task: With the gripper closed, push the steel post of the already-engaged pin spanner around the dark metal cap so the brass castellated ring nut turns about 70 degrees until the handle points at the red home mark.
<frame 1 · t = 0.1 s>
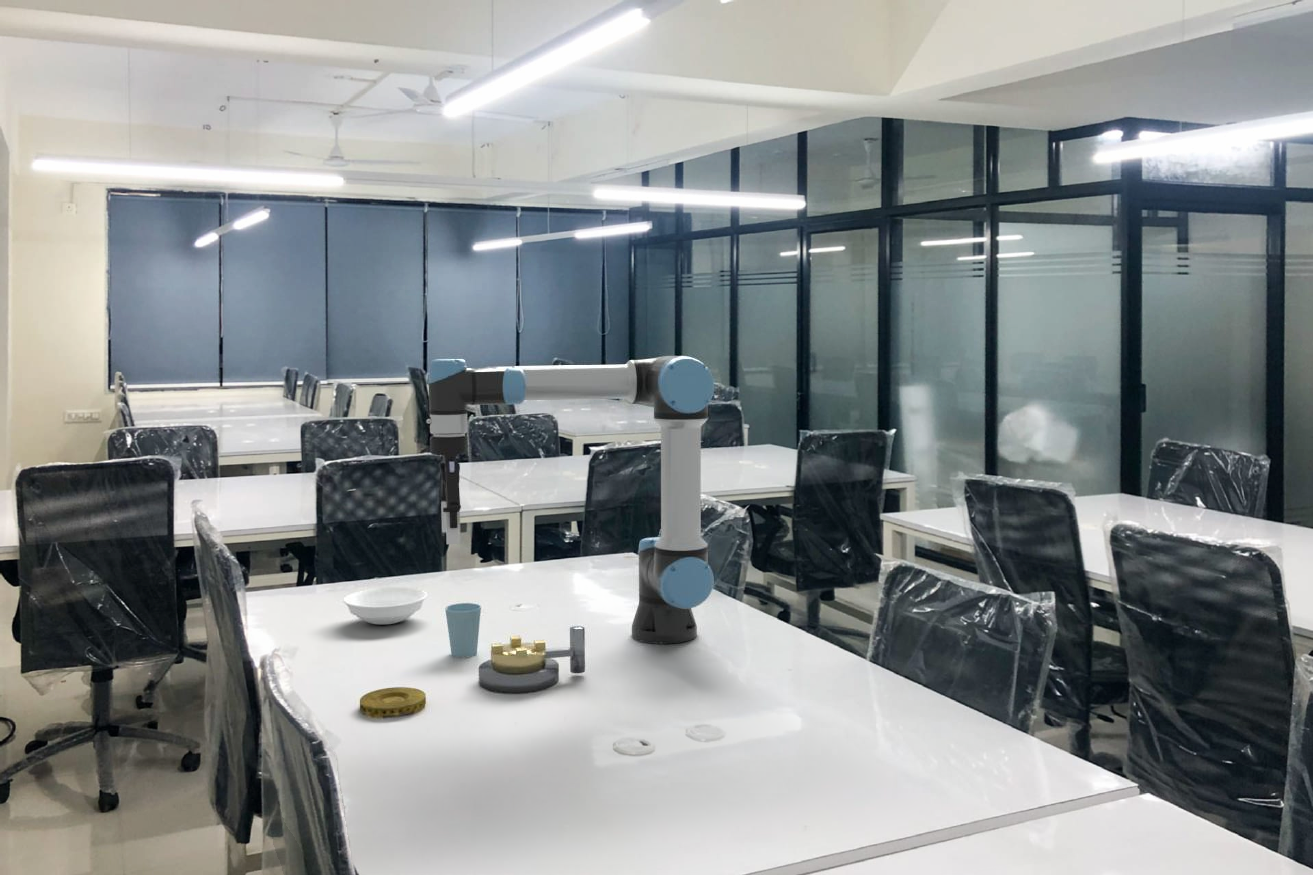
hand: (451, 537, 222), 28 cm above the table, fingers open, 13 cm apart
gold gear disc: (393, 709, 202), on the table
cup: (464, 654, 236), on the table
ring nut: (538, 652, 218), point 5 cm above the table, hinge at 0.0°
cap: (519, 680, 217), on the table
bowl: (386, 622, 263), on the table
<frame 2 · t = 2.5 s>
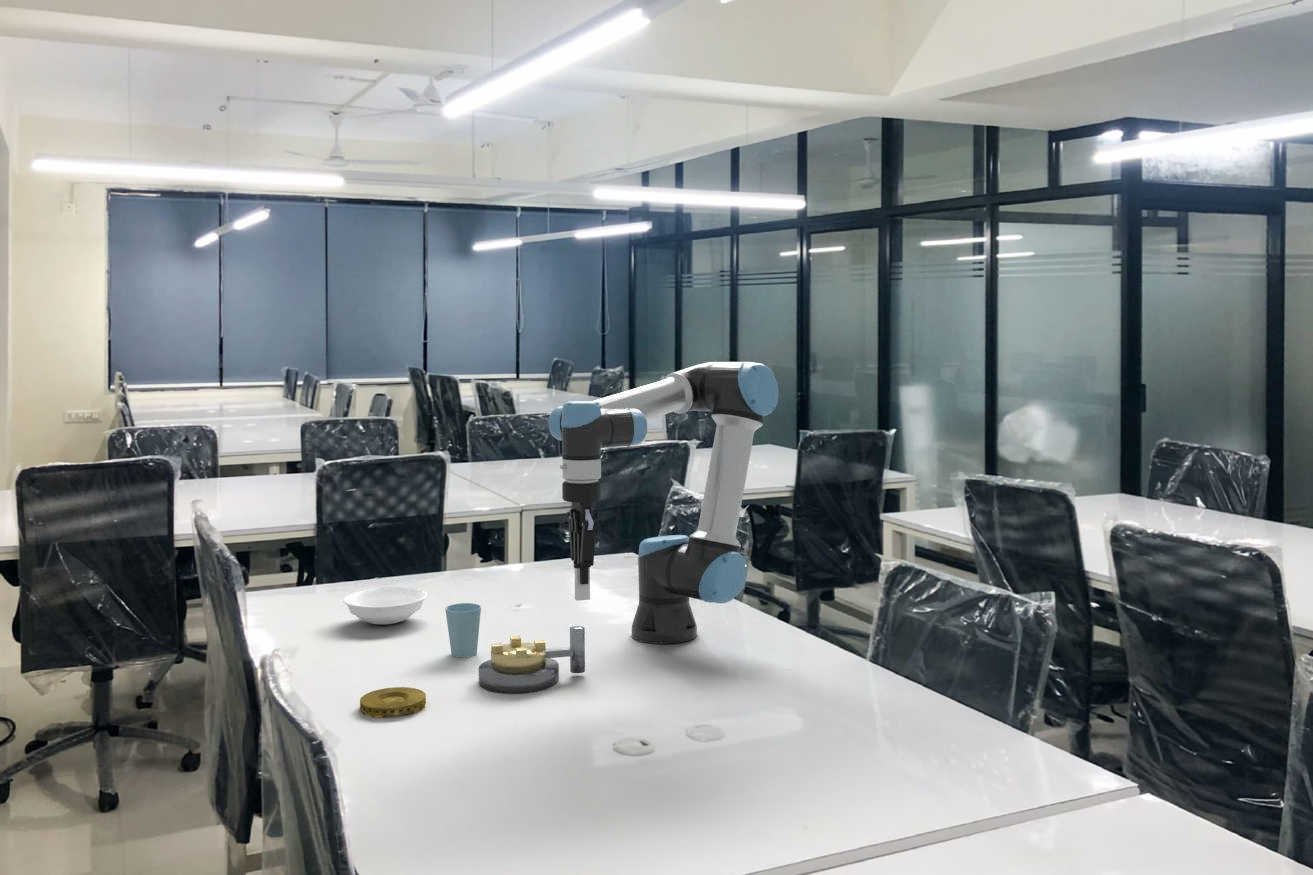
hand: (582, 599, 212), 18 cm above the table, fingers closed
nothing on the table moved.
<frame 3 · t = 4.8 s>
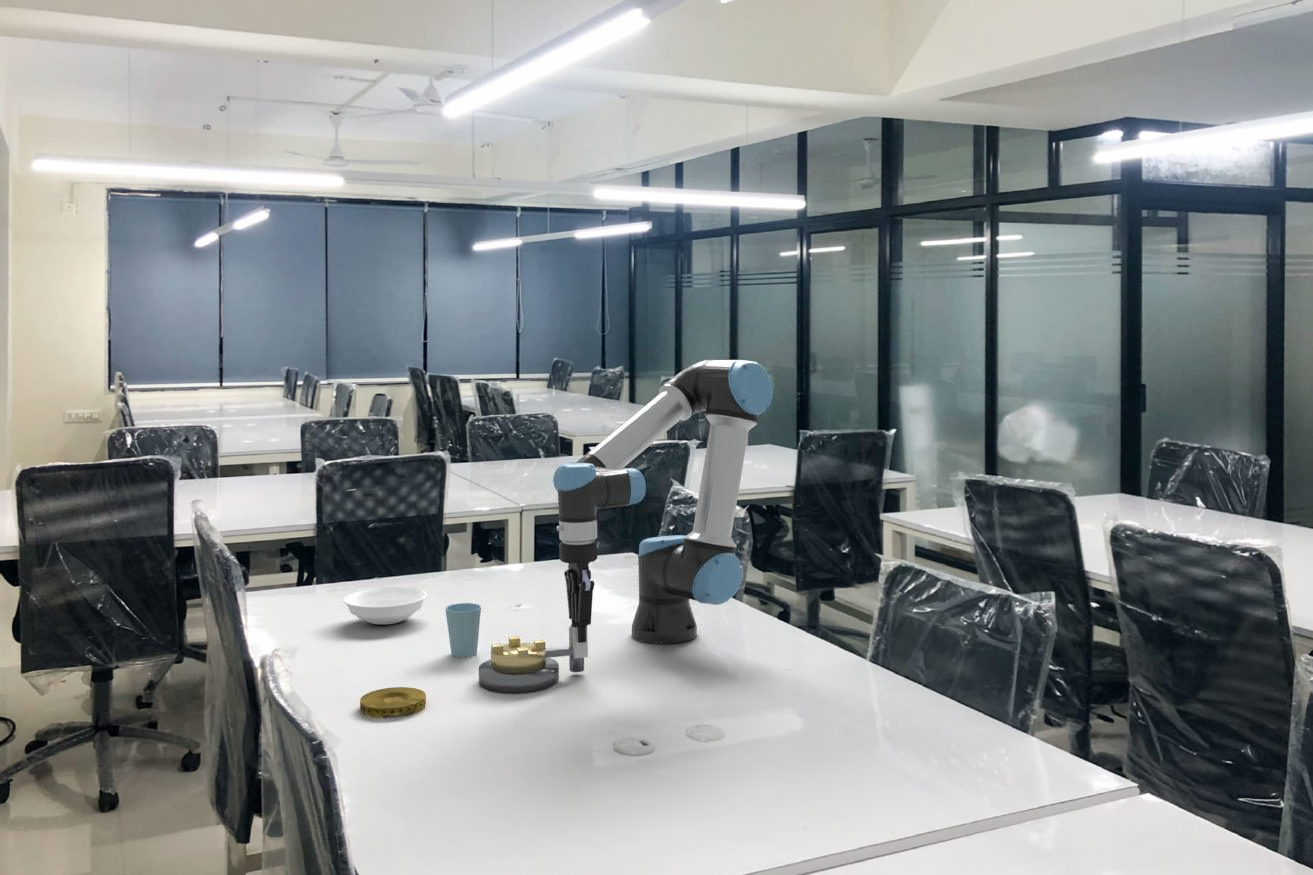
hand: (580, 656, 217), 5 cm above the table, fingers closed
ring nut: (538, 652, 218), point 5 cm above the table, hinge at 3.5°, touching gripper
everything else where it was.
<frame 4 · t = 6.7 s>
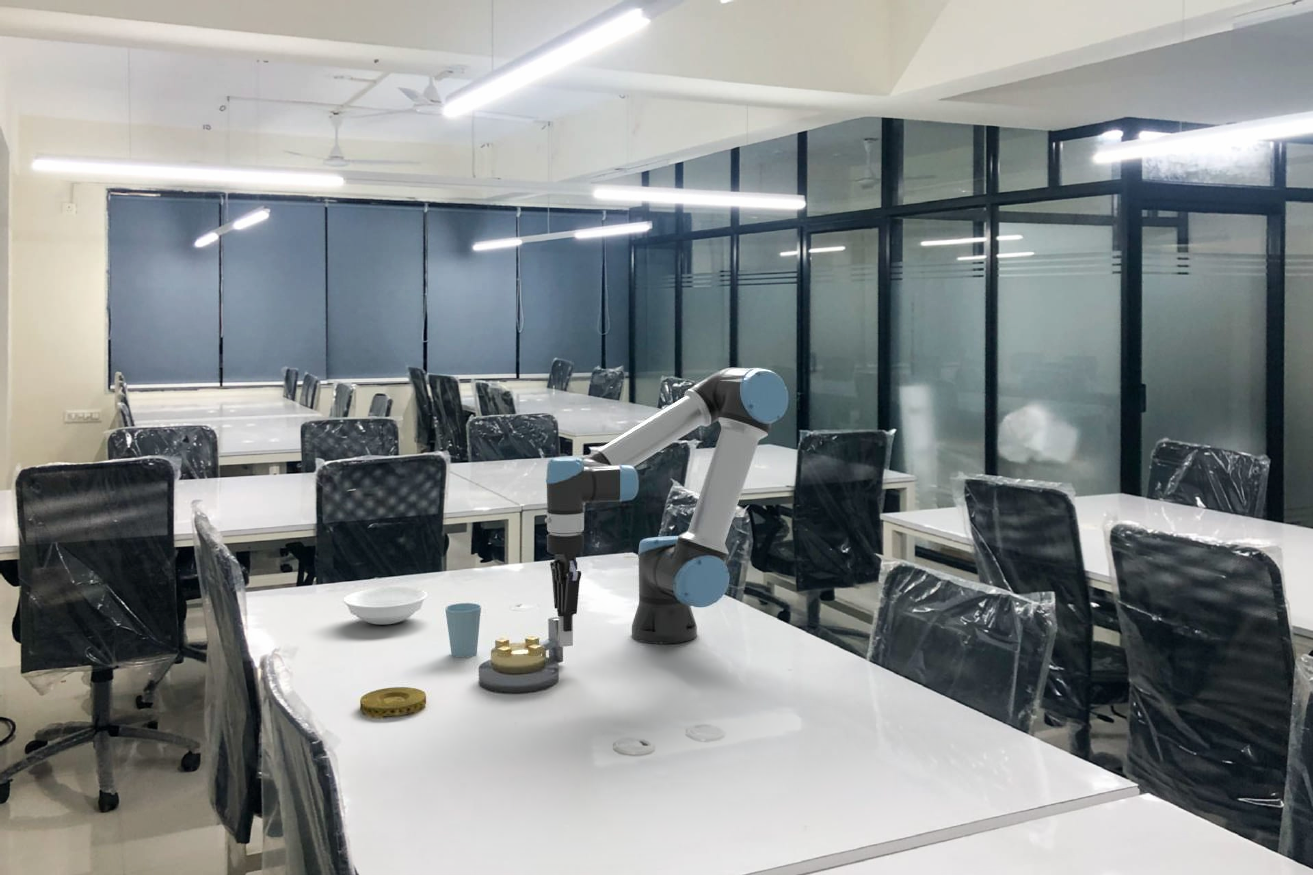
hand: (565, 645, 224), 5 cm above the table, fingers closed
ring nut: (531, 649, 220), point 5 cm above the table, hinge at 42.1°, touching gripper
everything else where it was.
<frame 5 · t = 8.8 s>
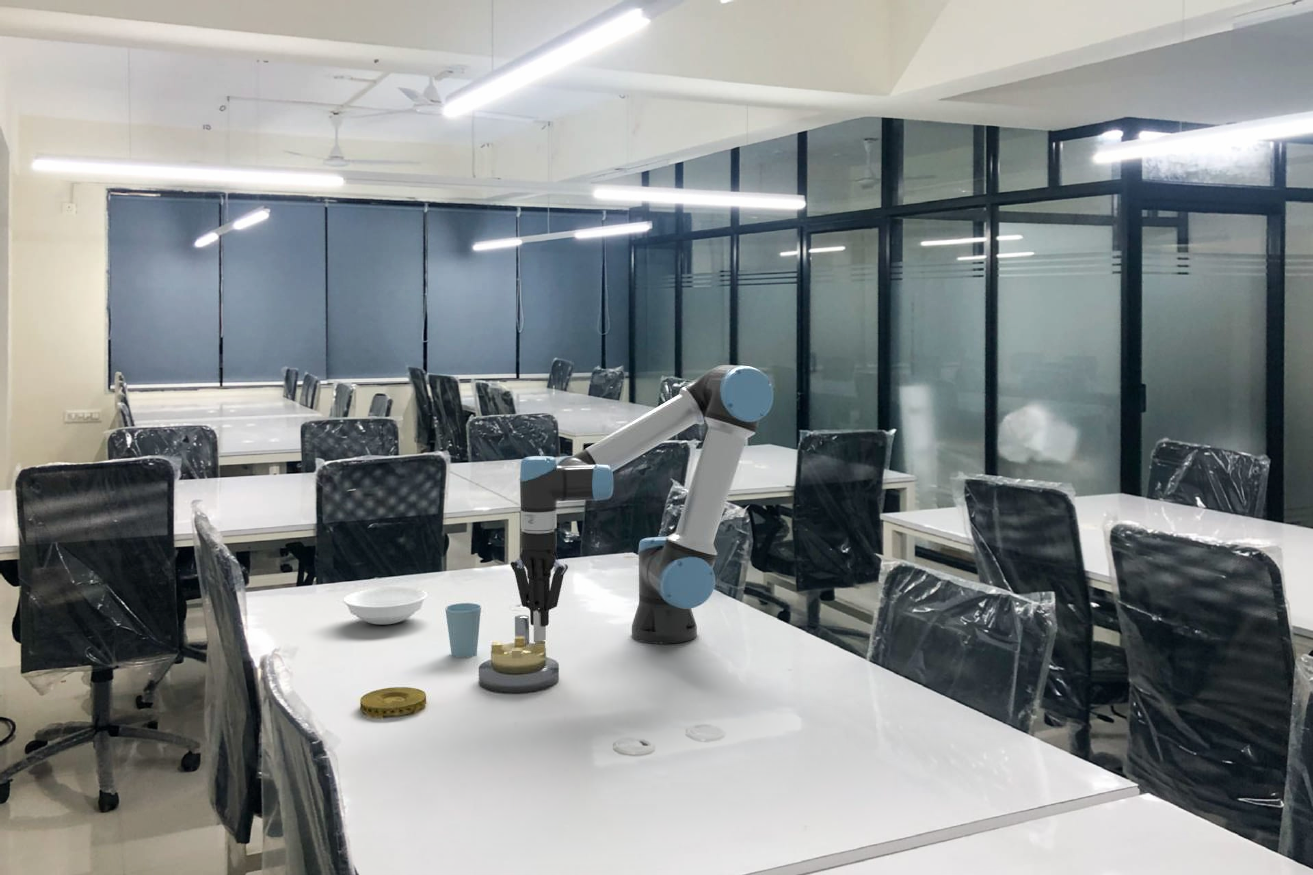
hand: (539, 640, 228), 5 cm above the table, fingers closed
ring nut: (519, 648, 221), point 5 cm above the table, hinge at 78.6°, touching gripper
everything else where it was.
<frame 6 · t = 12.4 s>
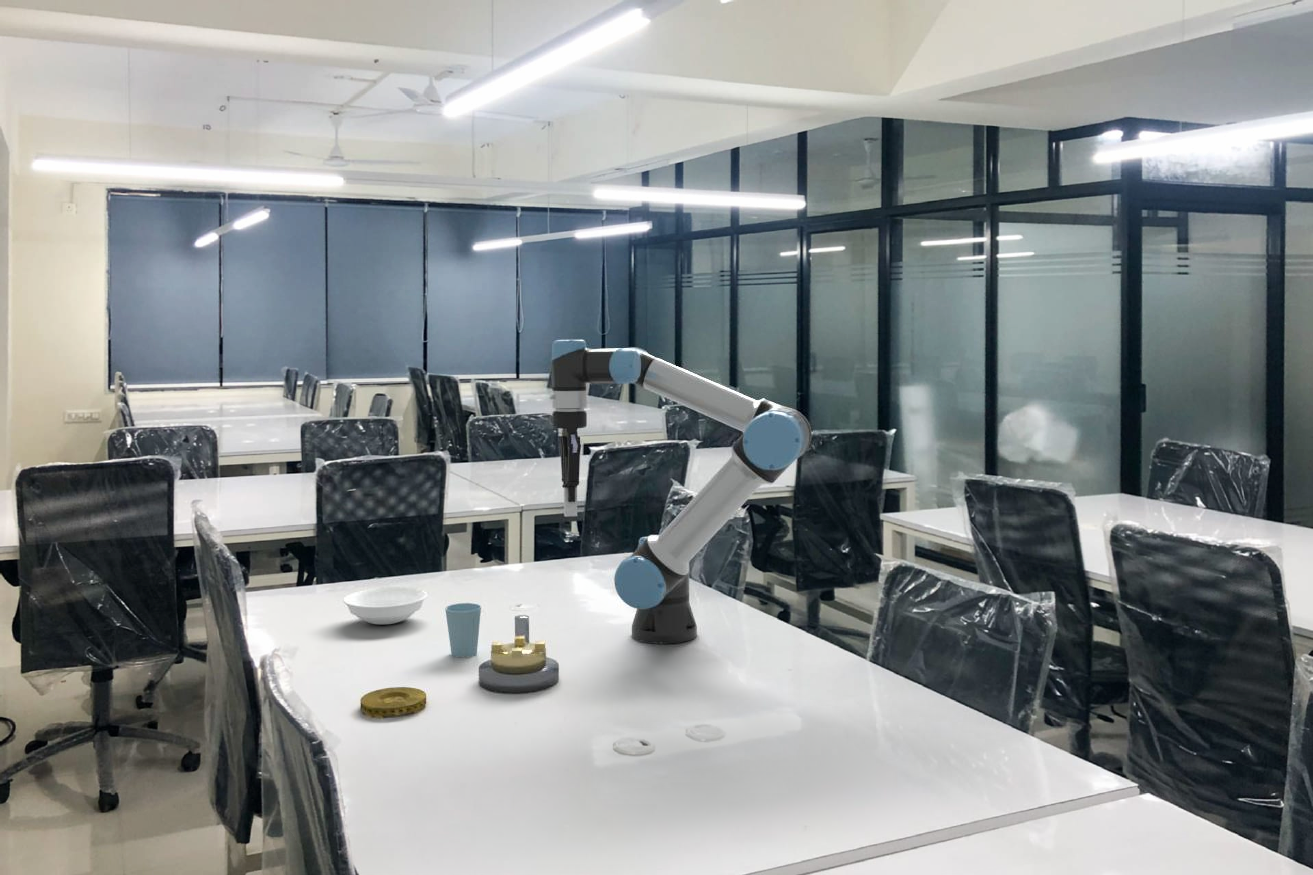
hand: (570, 515, 240), 29 cm above the table, fingers closed
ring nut: (519, 648, 221), point 5 cm above the table, hinge at 78.6°
everything else where it was.
at the end: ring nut at +79° (first picture: +0°); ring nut touching nothing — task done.
